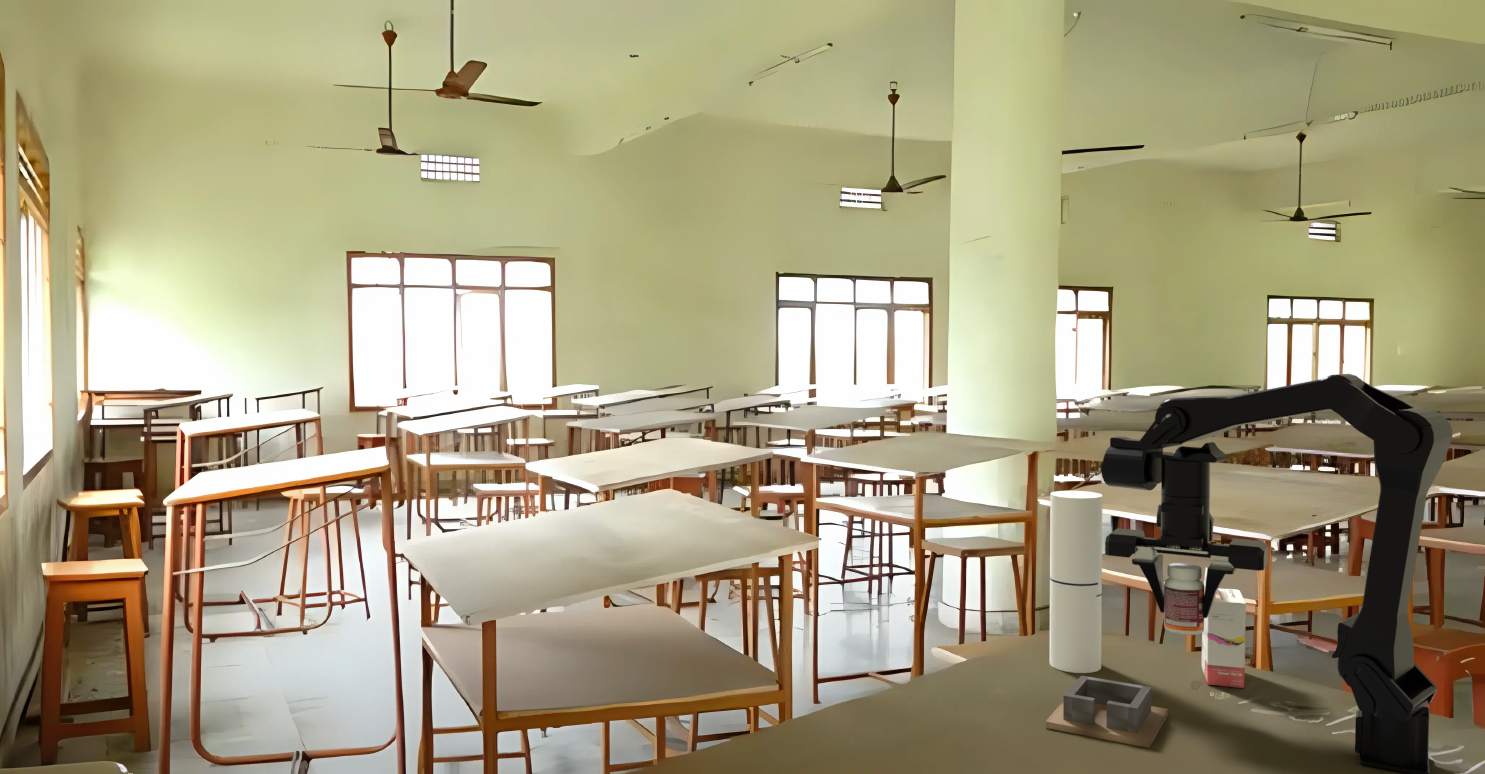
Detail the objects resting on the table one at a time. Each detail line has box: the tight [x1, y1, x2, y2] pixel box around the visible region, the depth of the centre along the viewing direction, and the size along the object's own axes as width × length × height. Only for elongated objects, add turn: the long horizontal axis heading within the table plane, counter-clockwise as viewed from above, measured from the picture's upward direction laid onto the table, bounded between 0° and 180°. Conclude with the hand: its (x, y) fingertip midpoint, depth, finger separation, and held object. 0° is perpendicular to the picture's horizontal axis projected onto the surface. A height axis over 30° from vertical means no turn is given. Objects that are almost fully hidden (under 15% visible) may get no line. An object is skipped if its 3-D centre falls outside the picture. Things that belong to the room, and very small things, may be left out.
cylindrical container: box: [1049, 490, 1103, 674], centre depth 148 cm, size 7×7×25 cm
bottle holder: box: [1045, 675, 1169, 749], centre depth 126 cm, size 12×12×4 cm
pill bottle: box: [1163, 562, 1204, 636], centre depth 131 cm, size 5×5×8 cm
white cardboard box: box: [1201, 566, 1247, 689], centre depth 142 cm, size 9×5×15 cm, turn 161°
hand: (1184, 614), depth 132 cm, fingers closed on pill bottle, 5 cm apart
